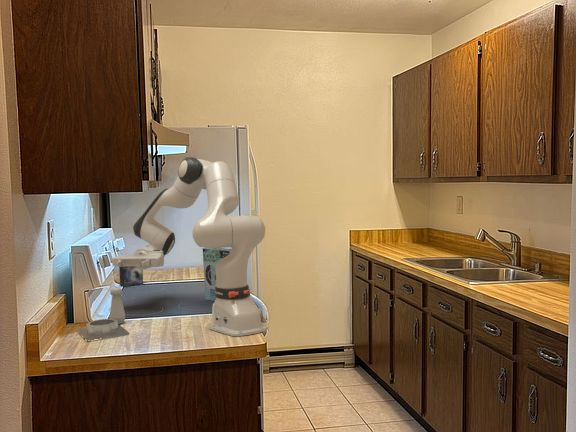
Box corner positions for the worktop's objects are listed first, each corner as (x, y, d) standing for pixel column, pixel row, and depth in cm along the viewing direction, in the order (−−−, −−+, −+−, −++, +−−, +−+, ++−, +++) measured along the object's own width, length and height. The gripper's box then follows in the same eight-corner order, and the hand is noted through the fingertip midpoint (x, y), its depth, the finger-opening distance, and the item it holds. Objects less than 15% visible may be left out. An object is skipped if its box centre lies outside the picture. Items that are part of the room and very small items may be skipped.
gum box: (241, 303, 233) (238, 249, 231) (231, 306, 229) (229, 250, 228) (213, 297, 247) (211, 246, 245) (204, 299, 244) (201, 247, 242)
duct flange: (129, 334, 191) (128, 323, 191) (86, 342, 184) (86, 330, 184) (116, 325, 205) (116, 314, 205) (76, 331, 198) (76, 321, 197)
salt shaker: (121, 324, 204) (119, 289, 204) (106, 324, 205) (104, 289, 205) (128, 321, 209) (126, 287, 210) (114, 321, 210) (112, 287, 211)
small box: (123, 287, 279) (122, 266, 279) (119, 285, 285) (118, 265, 284) (143, 284, 285) (142, 264, 284) (139, 282, 290) (138, 263, 290)
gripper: (120, 250, 233) (104, 256, 220) (166, 250, 230) (153, 256, 217) (121, 265, 234) (105, 272, 220) (167, 265, 231) (154, 272, 217)
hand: (129, 264), depth 218 cm, fingers open, 8 cm apart
